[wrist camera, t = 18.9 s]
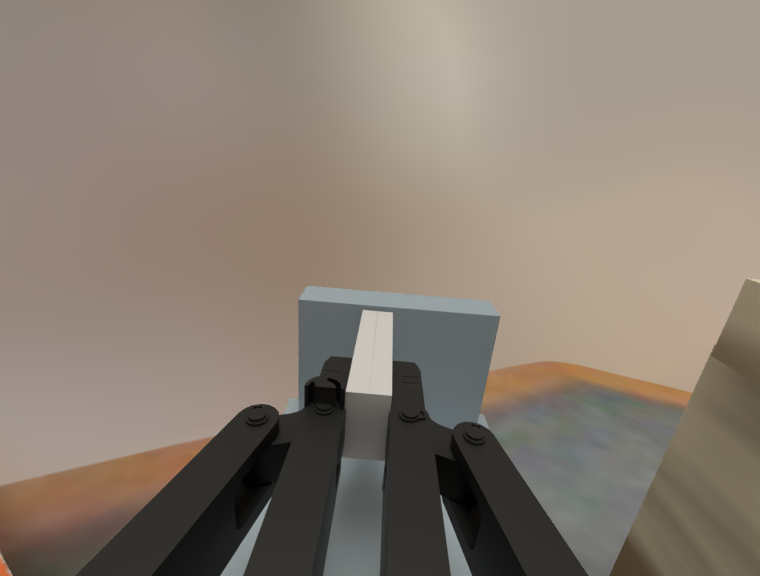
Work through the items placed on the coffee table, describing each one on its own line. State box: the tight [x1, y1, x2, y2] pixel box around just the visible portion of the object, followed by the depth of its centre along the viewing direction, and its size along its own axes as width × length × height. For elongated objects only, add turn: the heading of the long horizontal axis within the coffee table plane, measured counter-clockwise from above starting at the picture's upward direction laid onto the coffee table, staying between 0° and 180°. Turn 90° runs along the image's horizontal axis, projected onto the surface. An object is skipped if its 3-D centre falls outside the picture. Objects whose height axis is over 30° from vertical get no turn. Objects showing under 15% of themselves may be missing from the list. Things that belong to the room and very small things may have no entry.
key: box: [610, 279, 760, 576], centre depth 12 cm, size 6×4×20 cm
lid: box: [220, 286, 500, 576], centre depth 12 cm, size 12×20×9 cm, turn 178°
